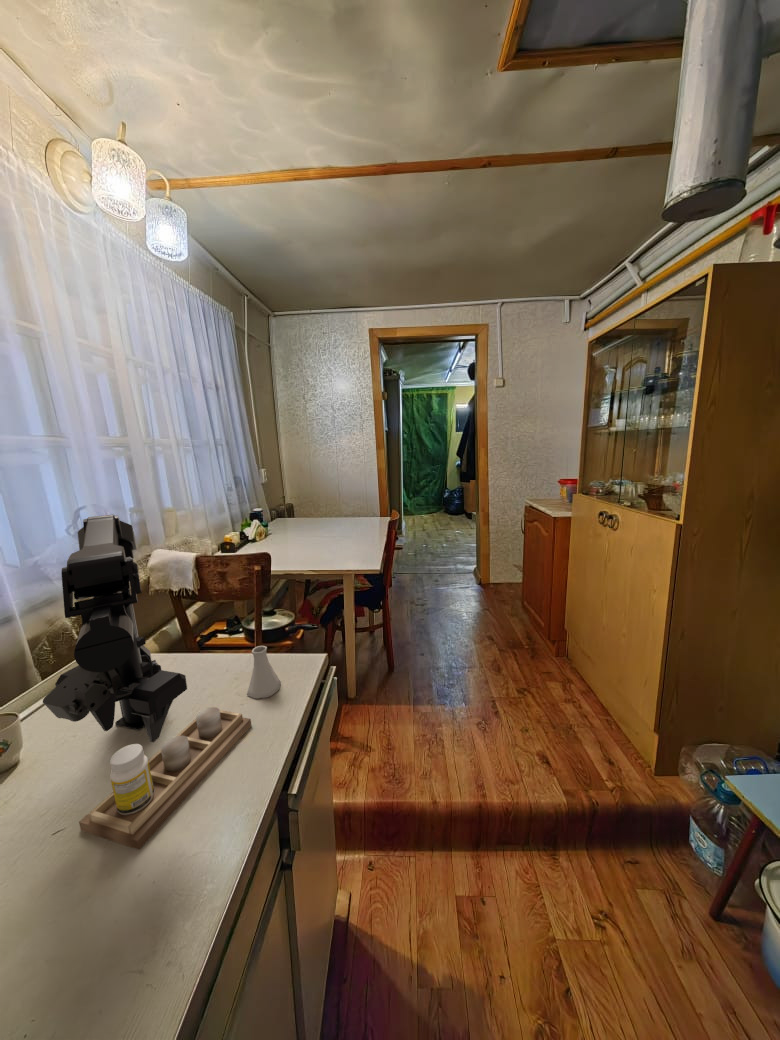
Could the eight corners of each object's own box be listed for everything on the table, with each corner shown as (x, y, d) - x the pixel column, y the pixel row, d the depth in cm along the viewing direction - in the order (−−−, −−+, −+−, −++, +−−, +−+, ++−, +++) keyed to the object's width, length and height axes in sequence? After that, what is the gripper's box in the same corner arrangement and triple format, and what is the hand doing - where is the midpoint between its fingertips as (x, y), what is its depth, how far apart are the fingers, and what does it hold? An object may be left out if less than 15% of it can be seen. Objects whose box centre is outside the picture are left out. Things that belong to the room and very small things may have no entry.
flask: (271, 701, 82) (266, 658, 80) (241, 698, 83) (235, 657, 81) (286, 681, 89) (281, 641, 87) (258, 679, 90) (253, 640, 88)
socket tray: (80, 830, 55) (74, 801, 54) (205, 716, 78) (202, 695, 77) (139, 849, 52) (132, 819, 51) (251, 725, 75) (248, 702, 74)
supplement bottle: (129, 789, 60) (120, 742, 58) (160, 786, 60) (152, 739, 58) (109, 818, 55) (99, 768, 53) (143, 814, 55) (133, 764, 54)
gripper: (-1, 661, 49) (25, 764, 52) (104, 680, 44) (127, 795, 47) (87, 623, 60) (106, 711, 63) (181, 635, 54) (197, 730, 57)
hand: (131, 734), depth 57 cm, fingers open, 9 cm apart
